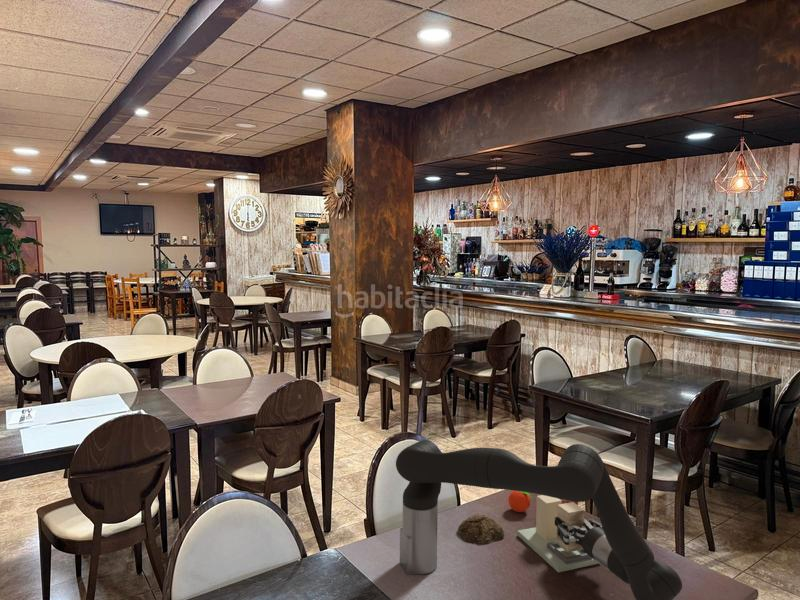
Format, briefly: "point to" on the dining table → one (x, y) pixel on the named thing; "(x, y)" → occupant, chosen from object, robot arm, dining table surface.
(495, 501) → the dining table surface
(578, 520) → the maple pillar
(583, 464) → the robot arm
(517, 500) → the clementine
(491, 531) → the bread roll
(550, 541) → the baseplate
